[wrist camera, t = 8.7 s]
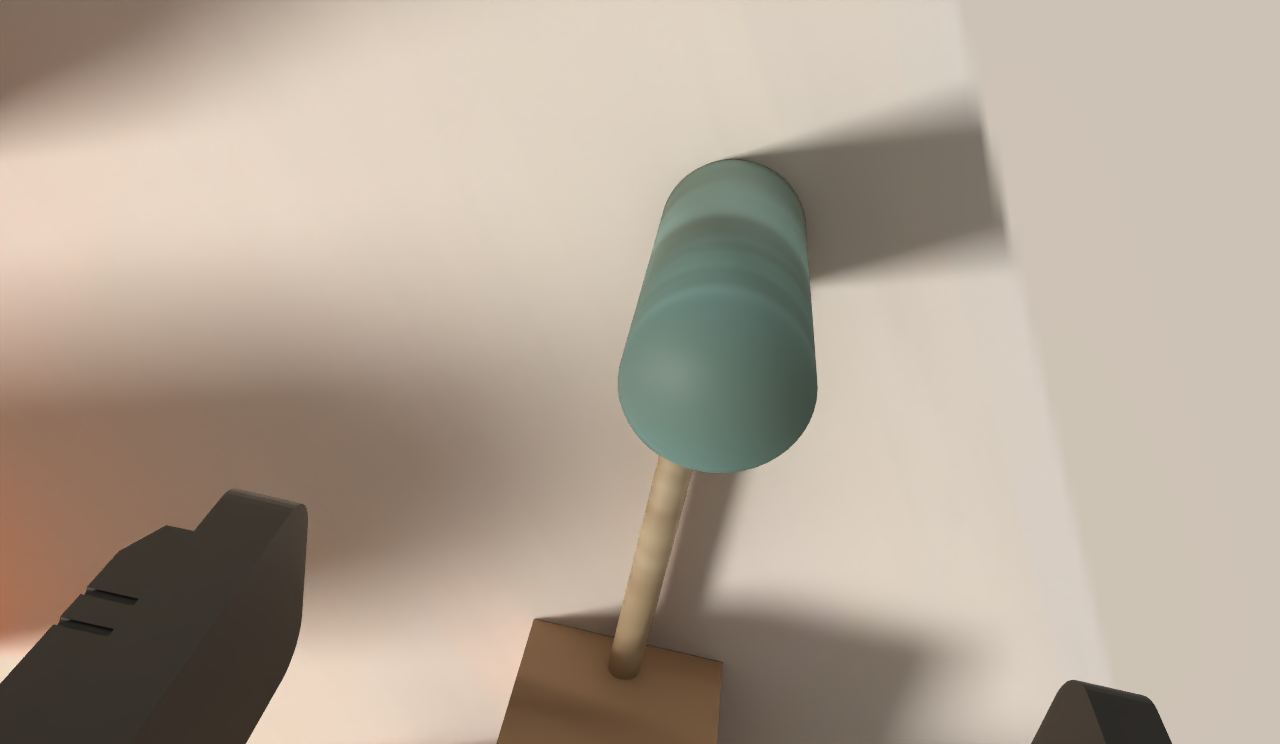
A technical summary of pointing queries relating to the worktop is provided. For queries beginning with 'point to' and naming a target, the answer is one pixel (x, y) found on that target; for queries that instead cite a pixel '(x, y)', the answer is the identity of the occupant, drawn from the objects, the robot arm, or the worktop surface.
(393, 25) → the worktop surface
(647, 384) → the tethered block
